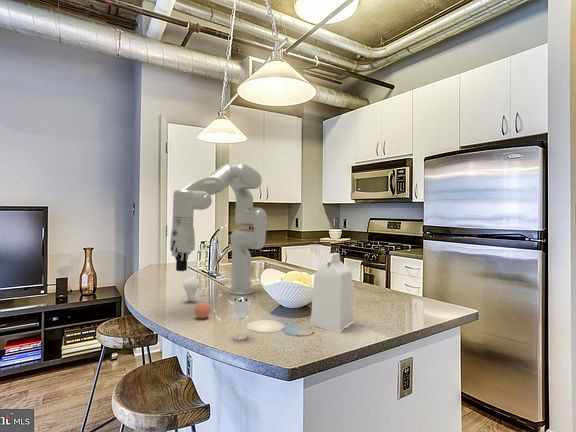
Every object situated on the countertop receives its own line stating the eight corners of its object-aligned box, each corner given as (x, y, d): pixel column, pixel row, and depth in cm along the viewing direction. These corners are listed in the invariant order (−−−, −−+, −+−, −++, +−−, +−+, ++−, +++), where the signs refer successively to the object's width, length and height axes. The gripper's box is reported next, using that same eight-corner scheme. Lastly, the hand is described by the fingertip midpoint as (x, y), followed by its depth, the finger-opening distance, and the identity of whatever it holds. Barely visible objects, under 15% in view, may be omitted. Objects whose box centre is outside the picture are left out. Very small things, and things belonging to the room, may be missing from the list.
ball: (199, 315, 131) (199, 300, 131) (212, 316, 129) (213, 302, 129) (191, 319, 126) (191, 304, 126) (205, 321, 124) (205, 305, 124)
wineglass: (231, 334, 112) (232, 297, 112) (249, 334, 112) (250, 297, 112) (229, 340, 106) (231, 302, 106) (248, 340, 107) (249, 302, 107)
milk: (340, 332, 117) (342, 256, 117) (310, 325, 123) (312, 253, 123) (352, 323, 127) (355, 253, 127) (325, 317, 133) (327, 251, 133)
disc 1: (254, 318, 129) (254, 318, 129) (288, 323, 125) (288, 322, 125) (240, 329, 116) (240, 329, 116) (277, 334, 113) (277, 334, 113)
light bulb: (194, 304, 145) (195, 278, 145) (180, 303, 147) (180, 277, 147) (201, 301, 152) (202, 276, 152) (187, 299, 153) (188, 275, 153)
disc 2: (287, 323, 124) (287, 323, 124) (317, 327, 121) (317, 327, 121) (278, 333, 114) (278, 333, 114) (310, 338, 111) (310, 337, 111)
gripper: (179, 223, 122) (178, 274, 122) (202, 222, 136) (200, 268, 136) (161, 222, 124) (160, 273, 124) (185, 221, 138) (184, 267, 138)
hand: (181, 270), depth 130 cm, fingers closed
